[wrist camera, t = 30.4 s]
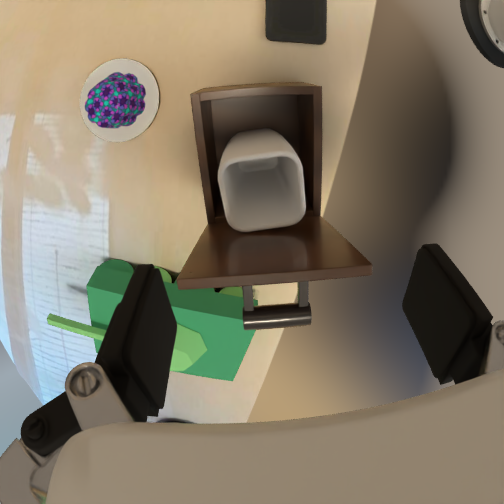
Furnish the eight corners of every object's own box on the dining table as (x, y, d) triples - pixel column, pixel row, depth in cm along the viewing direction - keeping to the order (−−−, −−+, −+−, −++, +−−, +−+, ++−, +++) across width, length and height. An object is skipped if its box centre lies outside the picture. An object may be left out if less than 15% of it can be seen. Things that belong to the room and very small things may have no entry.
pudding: (117, 42, 29) (101, 40, 25) (179, 93, 34) (169, 97, 30) (68, 109, 34) (49, 116, 29) (124, 157, 39) (110, 169, 34)
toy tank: (35, 289, 36) (260, 341, 42) (67, 244, 47) (256, 286, 53) (55, 356, 46) (232, 397, 52) (76, 312, 56) (233, 347, 62)
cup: (223, 128, 36) (213, 161, 24) (280, 120, 36) (301, 148, 24) (233, 179, 41) (229, 235, 28) (286, 171, 40) (307, 224, 28)
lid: (175, 279, 19) (189, 347, 21) (373, 264, 19) (366, 333, 20) (207, 223, 34) (212, 268, 35) (321, 215, 34) (321, 260, 35)
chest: (202, 88, 34) (190, 94, 26) (303, 82, 34) (321, 86, 26) (215, 191, 42) (208, 225, 34) (304, 185, 42) (320, 217, 34)
